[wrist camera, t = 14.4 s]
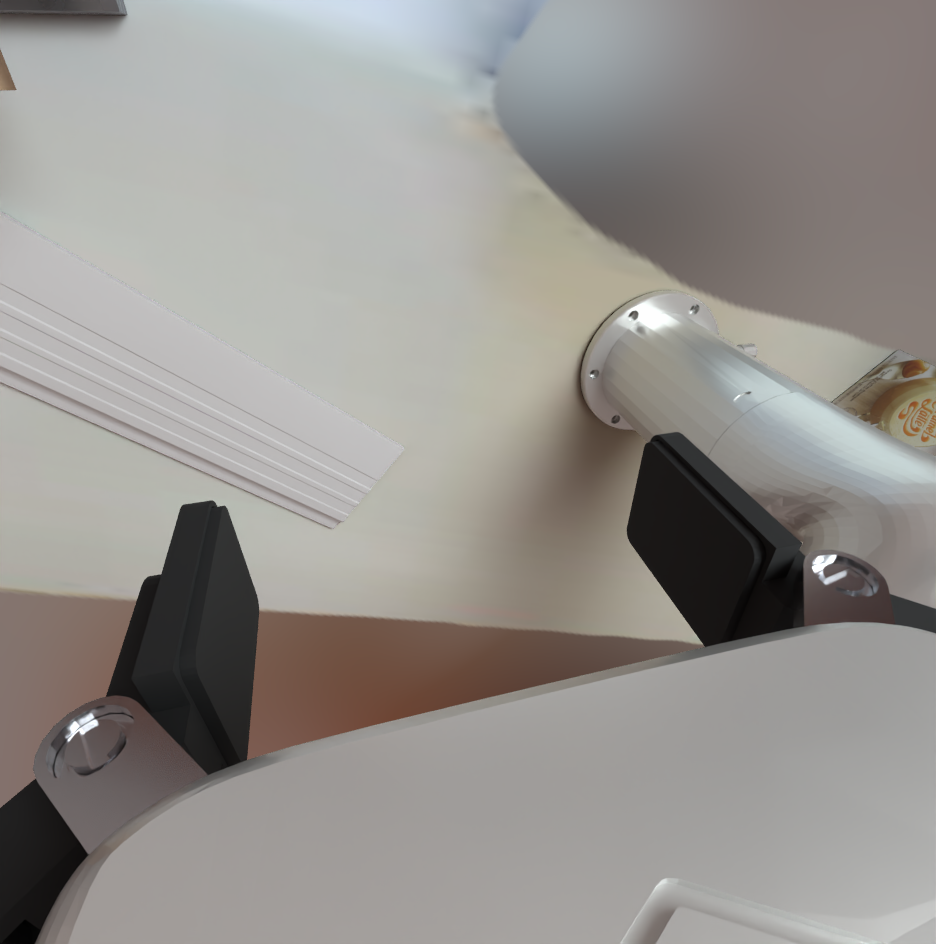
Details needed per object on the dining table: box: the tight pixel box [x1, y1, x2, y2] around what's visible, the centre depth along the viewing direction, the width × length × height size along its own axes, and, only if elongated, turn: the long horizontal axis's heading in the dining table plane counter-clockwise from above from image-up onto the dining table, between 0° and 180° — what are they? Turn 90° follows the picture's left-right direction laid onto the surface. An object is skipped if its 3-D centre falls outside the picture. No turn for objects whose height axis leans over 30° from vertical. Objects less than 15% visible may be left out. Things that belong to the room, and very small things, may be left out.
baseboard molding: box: [0, 211, 404, 529], centre depth 39 cm, size 31×3×12 cm
